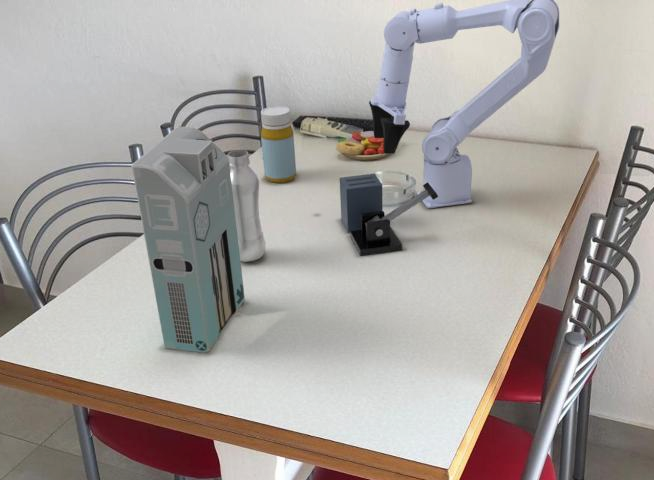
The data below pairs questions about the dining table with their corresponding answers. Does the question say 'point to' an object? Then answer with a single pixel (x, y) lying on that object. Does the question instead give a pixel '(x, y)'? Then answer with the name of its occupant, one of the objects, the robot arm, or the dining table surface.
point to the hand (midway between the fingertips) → (384, 145)
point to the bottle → (278, 145)
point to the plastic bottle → (246, 206)
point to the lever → (409, 203)
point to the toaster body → (359, 199)
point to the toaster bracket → (375, 235)
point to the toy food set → (362, 146)
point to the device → (190, 237)
